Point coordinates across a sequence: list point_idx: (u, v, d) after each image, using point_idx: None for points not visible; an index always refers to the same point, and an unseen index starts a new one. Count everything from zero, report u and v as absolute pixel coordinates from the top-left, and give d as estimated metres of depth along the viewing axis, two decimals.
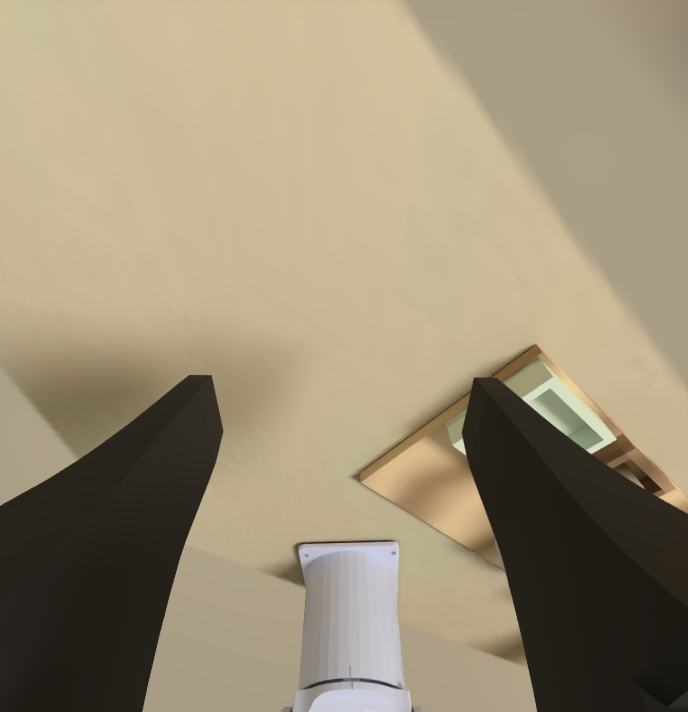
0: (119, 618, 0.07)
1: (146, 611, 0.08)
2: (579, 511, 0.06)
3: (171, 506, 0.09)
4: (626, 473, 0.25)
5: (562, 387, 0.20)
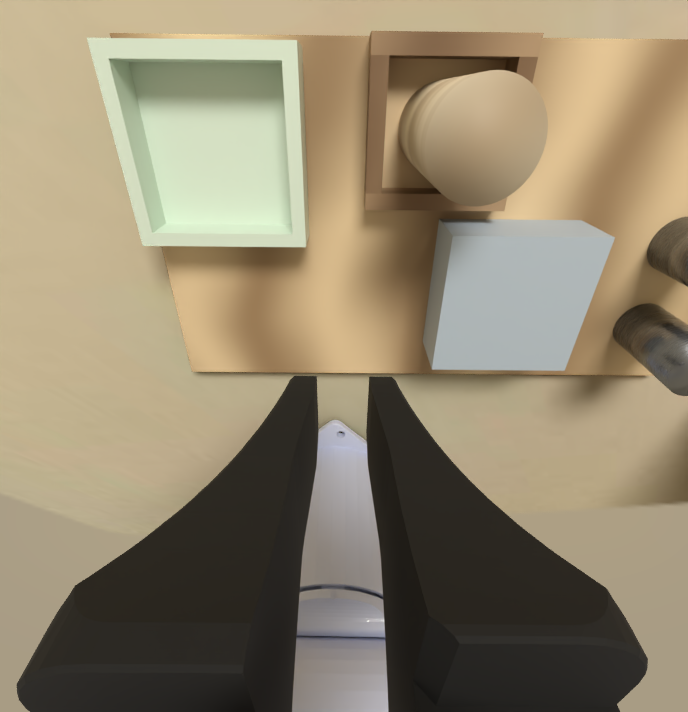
0: (286, 619, 0.07)
1: (293, 612, 0.08)
2: (401, 509, 0.06)
3: (300, 507, 0.09)
4: (425, 87, 0.13)
5: (118, 40, 0.12)
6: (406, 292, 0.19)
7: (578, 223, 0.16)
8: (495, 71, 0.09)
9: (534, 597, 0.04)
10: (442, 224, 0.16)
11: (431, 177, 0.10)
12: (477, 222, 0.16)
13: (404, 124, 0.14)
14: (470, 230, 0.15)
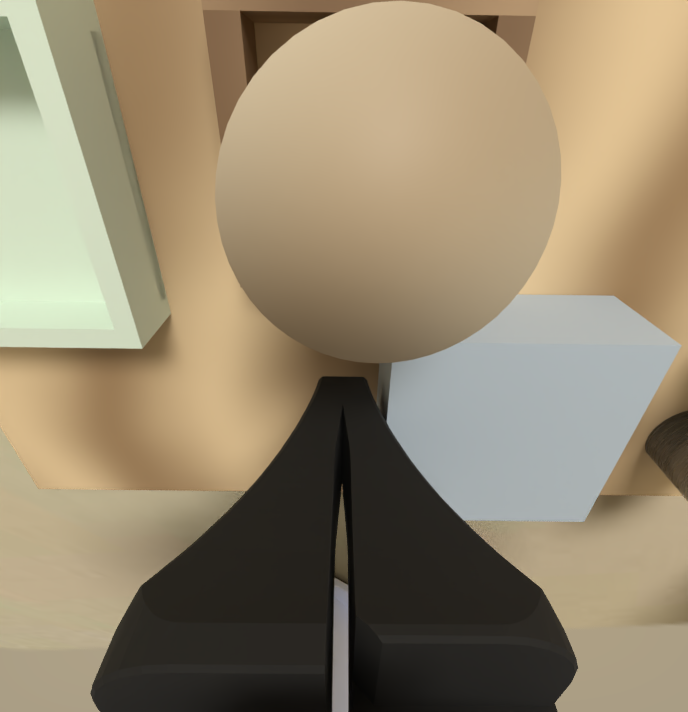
0: None
1: None
2: None
3: (335, 507, 0.09)
4: None
5: None
6: None
7: (611, 304, 0.10)
8: (390, 6, 0.03)
9: (466, 597, 0.04)
10: None
11: (254, 303, 0.04)
12: None
13: None
14: None
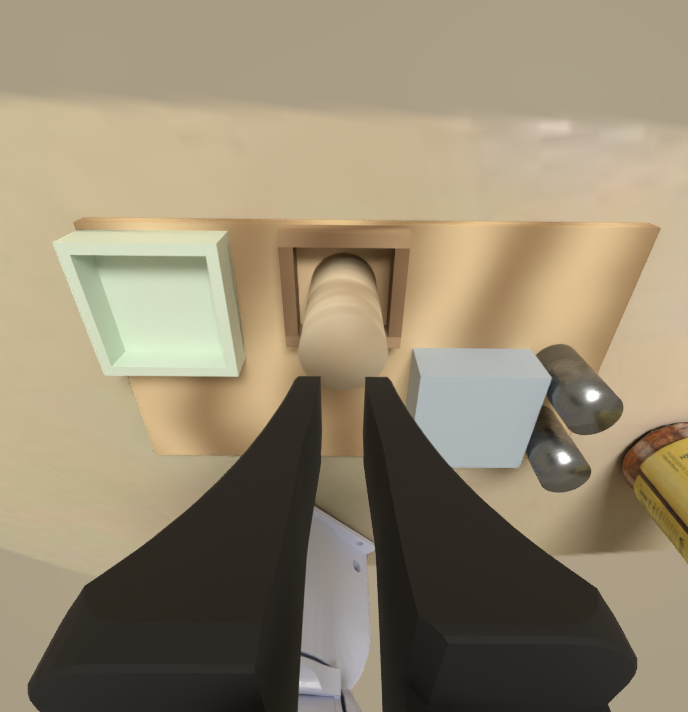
0: (293, 619, 0.07)
1: (299, 612, 0.08)
2: None
3: (305, 507, 0.09)
4: (324, 266, 0.17)
5: (76, 244, 0.16)
6: (332, 397, 0.22)
7: (527, 354, 0.20)
8: (341, 315, 0.13)
9: (524, 597, 0.04)
10: (414, 356, 0.20)
11: (306, 373, 0.14)
12: (443, 353, 0.20)
13: None
14: (436, 368, 0.19)
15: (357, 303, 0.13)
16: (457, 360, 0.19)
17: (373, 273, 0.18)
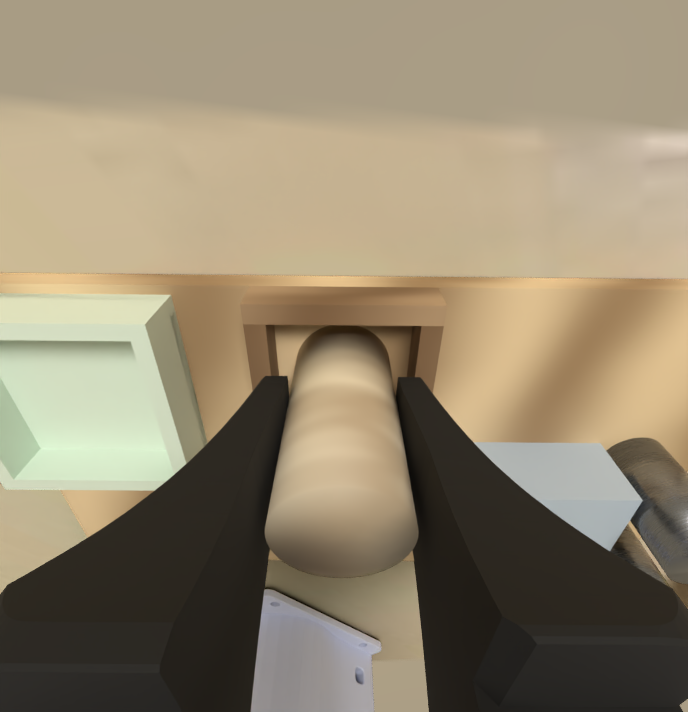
0: (240, 619, 0.07)
1: (253, 612, 0.08)
2: (449, 510, 0.06)
3: (264, 506, 0.09)
4: (314, 349, 0.11)
5: None
6: None
7: (597, 454, 0.14)
8: (337, 488, 0.07)
9: (603, 598, 0.04)
10: None
11: None
12: None
13: None
14: None
15: (366, 447, 0.08)
16: (502, 465, 0.14)
17: (386, 353, 0.12)
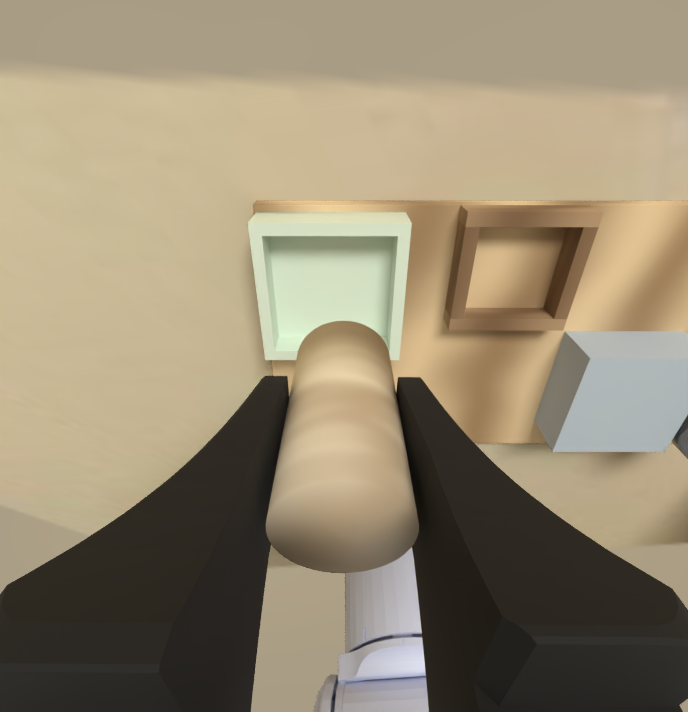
0: (240, 619, 0.07)
1: (252, 612, 0.08)
2: (449, 510, 0.06)
3: (264, 507, 0.09)
4: (315, 345, 0.11)
5: (271, 224, 0.16)
6: (472, 382, 0.22)
7: (683, 336, 0.20)
8: (338, 482, 0.07)
9: (603, 598, 0.04)
10: (571, 339, 0.20)
11: (281, 554, 0.08)
12: (599, 336, 0.20)
13: None
14: (600, 350, 0.19)
15: (367, 442, 0.08)
16: (617, 342, 0.19)
17: (386, 350, 0.12)
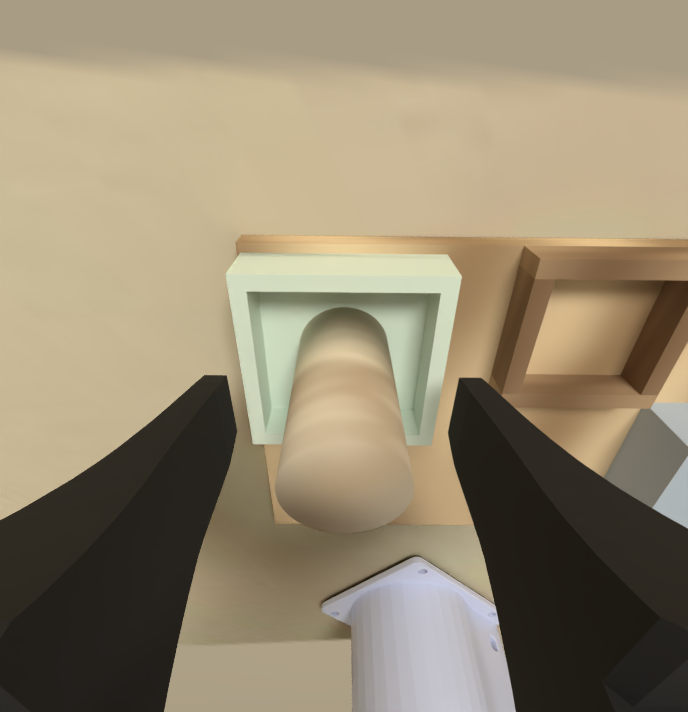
0: (143, 618, 0.07)
1: (167, 611, 0.08)
2: (553, 511, 0.06)
3: (189, 506, 0.09)
4: (317, 329, 0.12)
5: (260, 276, 0.11)
6: None
7: None
8: (341, 443, 0.08)
9: None
10: (655, 415, 0.15)
11: None
12: None
13: None
14: None
15: (366, 411, 0.09)
16: None
17: (384, 334, 0.13)
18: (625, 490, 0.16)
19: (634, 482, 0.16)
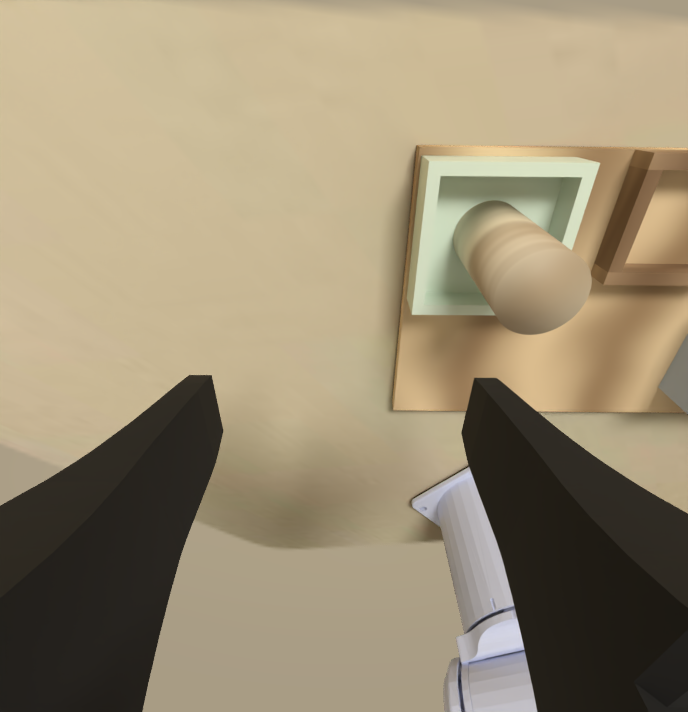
0: (119, 618, 0.07)
1: (146, 611, 0.08)
2: (579, 511, 0.06)
3: (171, 506, 0.09)
4: (480, 213, 0.16)
5: (453, 163, 0.15)
6: (603, 345, 0.21)
7: None
8: (552, 250, 0.12)
9: None
10: None
11: (498, 317, 0.13)
12: None
13: (463, 244, 0.16)
14: None
15: (555, 240, 0.13)
16: None
17: None
18: None
19: None
